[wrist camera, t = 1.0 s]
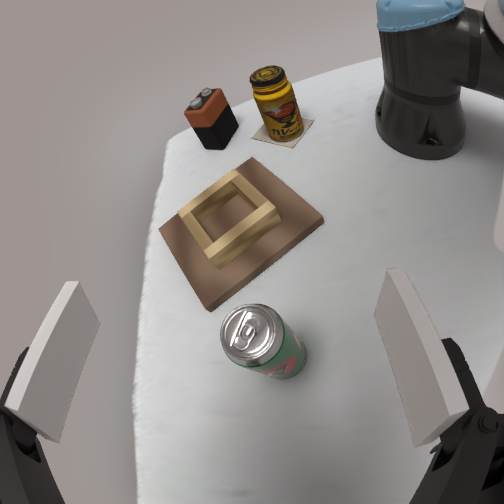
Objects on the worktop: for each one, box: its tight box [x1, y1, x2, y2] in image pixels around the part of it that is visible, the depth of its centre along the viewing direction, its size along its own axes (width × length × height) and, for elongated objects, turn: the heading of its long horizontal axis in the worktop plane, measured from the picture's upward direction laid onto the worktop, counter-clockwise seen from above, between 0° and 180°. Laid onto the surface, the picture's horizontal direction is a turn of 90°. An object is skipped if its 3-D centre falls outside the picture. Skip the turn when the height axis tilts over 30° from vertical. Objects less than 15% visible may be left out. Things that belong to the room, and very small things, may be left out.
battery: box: [184, 88, 238, 149], centre depth 49 cm, size 4×7×10 cm, turn 156°
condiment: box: [250, 66, 314, 148], centre depth 44 cm, size 7×8×12 cm
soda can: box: [220, 304, 306, 379], centre depth 27 cm, size 5×5×12 cm
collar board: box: [159, 157, 324, 312], centre depth 40 cm, size 18×16×4 cm
